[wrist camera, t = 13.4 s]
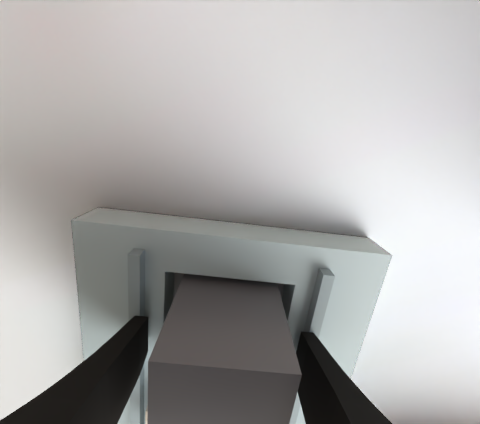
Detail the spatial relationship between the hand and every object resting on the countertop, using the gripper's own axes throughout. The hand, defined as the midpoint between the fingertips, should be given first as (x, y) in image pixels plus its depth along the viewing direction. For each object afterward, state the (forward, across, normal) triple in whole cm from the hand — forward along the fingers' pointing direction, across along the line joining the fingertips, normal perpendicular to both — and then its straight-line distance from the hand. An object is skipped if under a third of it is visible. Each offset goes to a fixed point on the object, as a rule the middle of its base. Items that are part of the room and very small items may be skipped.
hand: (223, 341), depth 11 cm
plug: (+2, 0, 0) cm, 2 cm away
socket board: (+3, 0, +4) cm, 5 cm away
